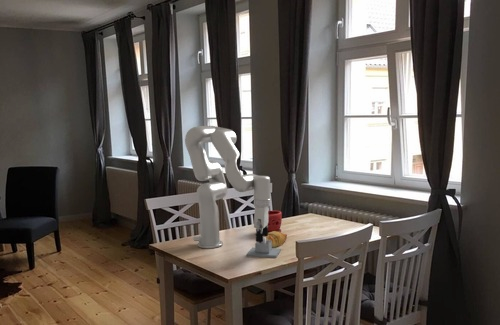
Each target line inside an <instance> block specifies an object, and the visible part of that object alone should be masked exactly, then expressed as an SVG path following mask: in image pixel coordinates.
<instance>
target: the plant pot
mask: <svg viewBox="0 0 500 325" xmlns="http://www.w3.org/2000/svg"><path fill="white" fill-rule="evenodd" d="M282 214H283V213H282V211H280V210H268V224H267V225H268V227H267V228H268V233H269V232H272V231H278V232H280V233H282V230H281V227H282V219H283V218H282ZM260 227H262V226H260Z"/></svg>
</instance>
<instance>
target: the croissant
mask: <svg viewBox="0 0 500 325" xmlns="http://www.w3.org/2000/svg"><path fill="white" fill-rule="evenodd" d="M287 236H288V234H286V233H282V232H281V233H280V232H278V231H272V232H269V233H268V236H264V237H266V240H272V248H277V247H279V246H282V245H283V244H284V242H285V241H286V240H287V239H288V238H287Z"/></svg>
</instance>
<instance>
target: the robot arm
mask: <svg viewBox="0 0 500 325" xmlns="http://www.w3.org/2000/svg"><path fill="white" fill-rule="evenodd" d="M237 138H238V137H237V135H236V133H235V131H233V129H230V128H226V127H220V126H216V125H215V126H214V125H201V126H199V125H198V126H193V127H192V128H189V130H187V132H186V134H185V136H184V143H185V147H186V150H187V152H188V153H187V154H188V156H189V158H190V164H191V167H192V171H193V174H194V176H195V179H196V180H198V181H200V182H203V181H209V182H205V183H203V184H200V186H199V185H198V188H197V189H196V199H197V203H198V207H199V208H198V209H199V225H200V226H199V228H200V229H199V230H200V232H199V233H200V235H199V236H196V235H195V236H194V235H193V238H192V239H193V242H198V243H197V246H198V247H199V248H202V249H215V248H219V247H221V246H223V244H224V242H223V240H220V213H219V207H218V204H217V202H216V201H218V200H221V199H224V198H225V197H226V196H227V193H228V185H227V182H226V179H227V180H228V183H230V185H231V186H232V188H233V189H234V190H235V191H237V192H238V193H244V192H248V191H253V207H254V216H253V217H254V218H253V228H255V243H256V242H263V237H265V236H268V228H267V227H268V225H267V224H268V211H269V208H270V207H271V178H270V176H268V175H258V174H256V173H255V174H254V173H248V174H247V173H246V174H244V175H243V174H241V171H240V170H239V168H238V164H237V160H238V159H239V158H240V154H241V153H240V152H239V150H238V148H237V147H236V145H235V144H236V142H237ZM208 143H212V146H213V147H214V149H215V150H216V151H217V153H218V155H219V156H220V157H221V160H222V161H223V163H224V170H223V168H222V166H221V164H220V163H219V162H218V161H217V160H210V159H208V154H207V152H206V149H205V148H204V146H203V145H202V144H208ZM224 171H225V174H224ZM225 176H226V178H225ZM260 226H262V227H260Z"/></svg>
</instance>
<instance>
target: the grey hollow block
mask: <svg viewBox="0 0 500 325" xmlns="http://www.w3.org/2000/svg"><path fill="white" fill-rule="evenodd" d="M254 245H255V246H254V248H255V253H264V254H269V253H270V252H271V250H272V248H273V247H272V240H266V243H261V242H256V241H255V244H254Z"/></svg>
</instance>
